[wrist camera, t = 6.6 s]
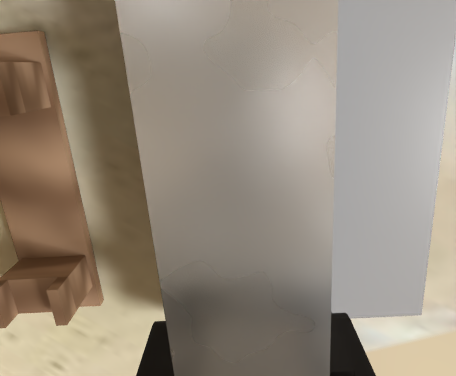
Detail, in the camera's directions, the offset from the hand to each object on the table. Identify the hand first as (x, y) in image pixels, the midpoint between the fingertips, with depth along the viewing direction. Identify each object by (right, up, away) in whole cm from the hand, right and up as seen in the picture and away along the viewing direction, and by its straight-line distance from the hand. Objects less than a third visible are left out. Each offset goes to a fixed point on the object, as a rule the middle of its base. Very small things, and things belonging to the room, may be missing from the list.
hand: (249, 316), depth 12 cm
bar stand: (-16, +4, +17) cm, 23 cm away
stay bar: (0, -1, -3) cm, 3 cm away
